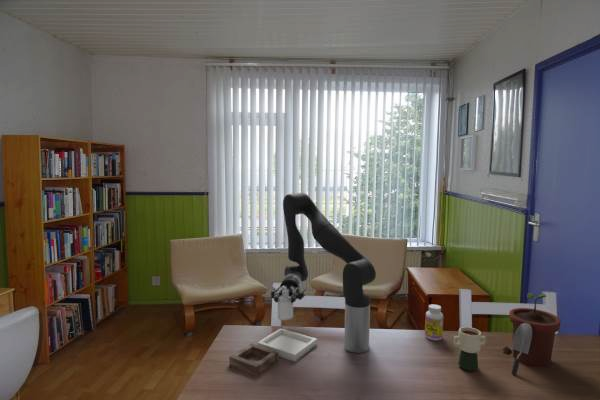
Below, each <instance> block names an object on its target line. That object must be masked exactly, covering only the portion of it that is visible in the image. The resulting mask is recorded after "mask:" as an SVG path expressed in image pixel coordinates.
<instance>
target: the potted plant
mask: <svg viewBox="0 0 600 400" xmlns="http://www.w3.org/2000/svg"><path fill="white" fill-rule="evenodd" d="M526 295H527V296H526V298H528V299H530V300H533V301H534V306H533V307H534V308H531V307H530V308H529V307H516V308H512V309H510V310H509V313H508V314H509V322H510V323H512V346H511V348H509V347H508V346H507V345H506V346H504V347H503V348H502V351H503V354H504V355H510V354H511V353H512V354H513V358H514V361H513V365H512V369H511V374H513V375H517V374H518V370H519V365H520V363H521V364H523V365H526V366H529V367H535V368H548V367H549V366H550V365H551V362H552V355H553V350H554V344H555V337H556V332H559V331H560V328H561V323H562V320H561V318H560V317H558V316H557V315H555V314H553V313H551V312H548V311H545V310H541V309H537V300H539V299H542V298H546V297H547V295H546V294H545V293H540V294H539V296H537V297H536V298H535V297H534V294H533V293H532V292H529V293H527V294H526Z"/></svg>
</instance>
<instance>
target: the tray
mask: <svg viewBox="0 0 600 400" xmlns="http://www.w3.org/2000/svg"><path fill="white" fill-rule="evenodd" d="M256 345H258V346H261V347H264V348H267V349H270V350H273V351H276V352H278V357H281V358H283V359H286V360H289V361H292V362H297V361H298V360H300V359H301V358H302V357H303V356H304V355H306V354H307V353H309V351H311V350H312V349H314V348H315V347H316V346H317V345H318V339H317V338H316V337H312V336H308V335H305V334H302V333H299V332H295V331H293V330H292V331H291V330H288V329H285V328H279V329H277V330H275V331H274V332H272V333H271V334H269V335H267V336H265V337H263V338H262V339H260V340H259V341H257V342H256Z"/></svg>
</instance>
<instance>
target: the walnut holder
mask: <svg viewBox="0 0 600 400" xmlns="http://www.w3.org/2000/svg"><path fill="white" fill-rule="evenodd" d="M252 355H254V356H256V357H259V358H261V359H260V360H258V361H257V362H254V361H253V360H252V361H251V360H248V358H250V357H251V356H252ZM278 361H279V356H278V352H276V351H273V350H270V349H267V348H264V347H261V346H258V345H257V344H256V343H249V344H248V345H247V346H245V347H243V348H242V349H240V350H238V351H237V352H235V353H233V354H231V355H229V362H228V363H229V366H230V367H233V368H236V369H239V370H241V371H244V372H247V373H249V374H251V375H255V376H258V375H260V374H261V373H263V372H264V371H265V370H267V369H268V368H269V367H271V366H272V365H274V364H275V363H277V362H278Z"/></svg>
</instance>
